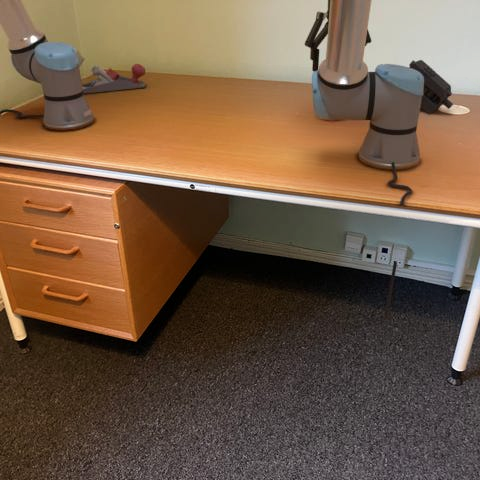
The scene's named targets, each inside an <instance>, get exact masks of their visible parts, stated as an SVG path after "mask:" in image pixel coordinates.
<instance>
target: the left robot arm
mask: <svg viewBox="0 0 480 480" xmlns="http://www.w3.org/2000/svg"><path fill="white" fill-rule="evenodd" d="M0 26H1V28H2V30H3V32H4V33H5V35H6V37H7V39H8V42H7V46H6V47H7V49H8V51H9V53H10V54H11V56H10V60H11V64H12V67H13V68H14V69H15V71H16V72H17V73H18V74H19V75H20V76H22V77H23V78H25V80H27V81H28V80H29V81H32V82H35V83H37V84H40V85H41V89H42V93H43V98H44V112H43V114H41V113H40V114H23V115H22V112H21V111H20V110H15V109H12V108H11V109H8V108H7V109H2V110H0V116H1V115H2V114H4V113H13V114H16V118H18V119H27V118H42V122H43V126H44V128H45V129H46V130H50V131H55V132H69V131H75V130H80V129H83V128H87V127H89V126H91V125H92V124H93V123H94V122H95V116H94V112H93V111H92V109H91V108H90V105H89V103H88V101H87V99H86V97H85V94H84V93H83V87H82V84H83V82H82V81H83V80H82V75H81V69H80V68H79V61H78V57H77V54H76V50H77V49H76V48H75V47H74V46H73V45H71V44H69V43H68V42H63V41H60V42H59V41H48V38H47V37H46V35H45V33H44V31H43V30H41V29H38V28H36V26H35V24H34V22H33V21H32V19H31V17H30V15H29V13H28V11H27V8H26V7H25V5H24V3H23V1H22V0H0Z"/></svg>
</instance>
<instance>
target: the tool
mask: <svg viewBox="0 0 480 480" xmlns="http://www.w3.org/2000/svg"><path fill="white" fill-rule="evenodd" d="M408 67H409V68H412V69H414V70H417V71H418V72H420V73H421V74H422V75H423V77H424V88H423V96H422V100H421V106H420V108H422V109H423V110H424V111H425V112H427V113H428V114H432V113H434V112H436V111H437V110H438V109H440V108H441V107H442V106H444V107H446V108H447V109H448V110H449V109H451V108H452V107H453V106H454V103H453V102H452V101H450V99H448V98H449V97H451V96H452V94H453V92H452V86H451V84H450V83H448V81H447V80H445V79H444V78H443V77H442V76H441V75H440V74H439V73H438V72H437V71H435V70H434V69H433V68H432V67H431V66H430V65H429V64H427V63H426V62H425V61H424V60H422V59H418V60H417V61H416V60H411V62H410V63H409V65H408Z"/></svg>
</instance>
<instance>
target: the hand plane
mask: <svg viewBox="0 0 480 480" xmlns="http://www.w3.org/2000/svg"><path fill="white" fill-rule="evenodd" d="M75 50H76V54H77V57H78V61H79V69H80V68H81V66H82V65H83V63H84V61H85V59H86V58H85V56H84V55H83V54H82V53H81V52H80V51H79V50H77V49H75ZM90 72H91V75H93V76H94V77H97V78H95V79H90V81H89V82H86V83H82V87H83V93H84V95H85V94H94V93H104V92H112V91H113V92H114V91H121V90H132V89H142V88H146V83H145V81H143V80H139V78H142V77H144V76H145V75H146V68H145V66H143V65H141V64H139V63H134V64H133V65H132V66H131V73H132V76H131V78H130V77H126V76H123V75H120V74H119V73H117V72H116V71H114V70H113V69H112V68H111V67H109V68H108V70H107V71H105V70H104V69H103V68H102V67H100V65H94V66H92V68H91V70H90Z"/></svg>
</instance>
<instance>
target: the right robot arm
mask: <svg viewBox="0 0 480 480" xmlns="http://www.w3.org/2000/svg"><path fill="white" fill-rule="evenodd" d="M371 6H372V0H327V10H326V12H322V11H317V12H316V16H315V20H314V22H313V25H312V26H311V29H310V31H309V32H308V35H307V37H306V39H305V41H304V46H305V47H307V48H309V49H310V55H309V59H310V61H312V66H311V67H312V68H311V69H312V70H311V71H312V74H311V89H312V106H313V112H314V115H315V117H316V118H317V119H319V120H324V119H327V120H326V121H328V120H332V121H331V122H334V121H333V120H339V121H369V126H368V130H367V132H366V135H364V136H365V137H364V138H363V141H362V143H361V145H360V147H359V151H358V159H359V160H360V162H362V163H363V164H364V165H367V166H369V167H372V168H374V169H378V170H385V171H392V175H393V179H390V180H389V181H388V183H387V184H388V185H389V186H390V187H392V188H397V189H405V190H406V192H405V193H404V194H403V195H402V197H401V199H400V202H399V206H401V207H404V204H405V199H406V198H407V197H408V196H410V195H411V194H412V193H413V190H412V188H411V187H410V186H408V185H404V184H396V183H395V182H397V180H398V173H397V171H403V170H408V169H412V168H414V167H416V166H418V164H419V163H420V158H421V153H420V151H421V150H420V146H419V140H418V135H417V130H418V124H419V119H420V111H421V100H422V96H423V88H424V77H423V75H422V74H421V73H420V72H418V71H417V70H414V69H412V68H409V67H410V66H406V65H400V64H393V63H384V64H383V63H381V64H378V65H377V66H376V67H375V69H374V71H369V67H368V65H367V64H366V62H365V61H364V57H365V48H366V47H367V45H368V44H370V43H372V37H371V35H370V31H369V28H368V27H369V20H370V14H371ZM325 19H326V22H325V24H324V26H323V28H322V29H321V27H322V25H323V22H324V21H325ZM320 29H321V30H320ZM326 37H327V41H326V53H325V58H324V60H322V61H321V62H320V49H319V46H320V45H321V44H322V42H323V41H324V40H325V38H326ZM397 264H398V261H396V260H394V261H393V264H392V271H391V277H390V282H389V287H388V288H389V289H388V295H387V301H386V305H385V311H384V312H385V314H384V318H389V313H390V305H391V300H392V294H393V288H394V283H395V277H396V272H397Z"/></svg>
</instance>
